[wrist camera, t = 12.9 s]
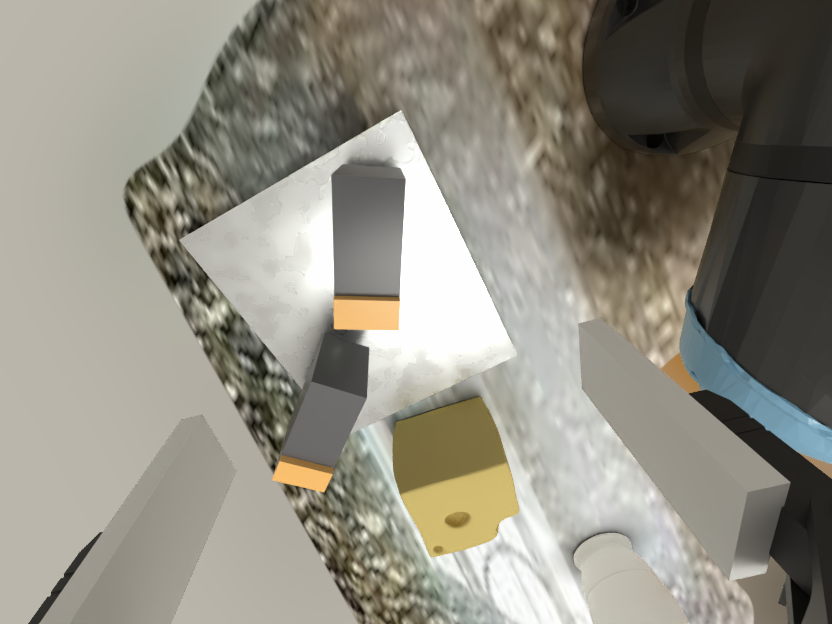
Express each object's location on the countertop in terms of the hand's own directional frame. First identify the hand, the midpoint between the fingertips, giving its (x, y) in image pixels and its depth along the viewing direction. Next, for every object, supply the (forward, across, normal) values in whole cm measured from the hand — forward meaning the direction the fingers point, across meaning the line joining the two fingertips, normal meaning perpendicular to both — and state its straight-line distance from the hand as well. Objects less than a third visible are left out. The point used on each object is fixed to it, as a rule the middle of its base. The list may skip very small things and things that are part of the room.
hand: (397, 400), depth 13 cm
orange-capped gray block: (+21, -8, -10) cm, 24 cm away
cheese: (+23, 0, -24) cm, 34 cm away
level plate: (+23, -3, -5) cm, 23 cm away
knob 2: (+21, -1, +2) cm, 21 cm away
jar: (+23, +18, -52) cm, 60 cm away
